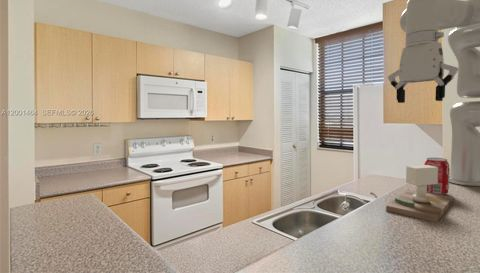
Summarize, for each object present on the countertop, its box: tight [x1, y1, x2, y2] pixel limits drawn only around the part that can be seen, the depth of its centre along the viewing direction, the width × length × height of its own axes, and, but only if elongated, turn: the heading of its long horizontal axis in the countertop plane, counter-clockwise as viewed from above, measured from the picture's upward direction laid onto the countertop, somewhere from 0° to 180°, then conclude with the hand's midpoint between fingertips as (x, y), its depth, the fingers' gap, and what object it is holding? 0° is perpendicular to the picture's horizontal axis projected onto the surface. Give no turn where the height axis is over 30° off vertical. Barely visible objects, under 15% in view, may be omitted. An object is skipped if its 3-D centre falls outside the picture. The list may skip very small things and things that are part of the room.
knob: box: [405, 164, 443, 204], centre depth 77 cm, size 9×7×10 cm
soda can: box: [423, 157, 450, 196], centre depth 92 cm, size 7×7×12 cm
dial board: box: [385, 189, 454, 223], centre depth 80 cm, size 22×12×2 cm, turn 133°
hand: (419, 101), depth 77 cm, fingers open, 9 cm apart
